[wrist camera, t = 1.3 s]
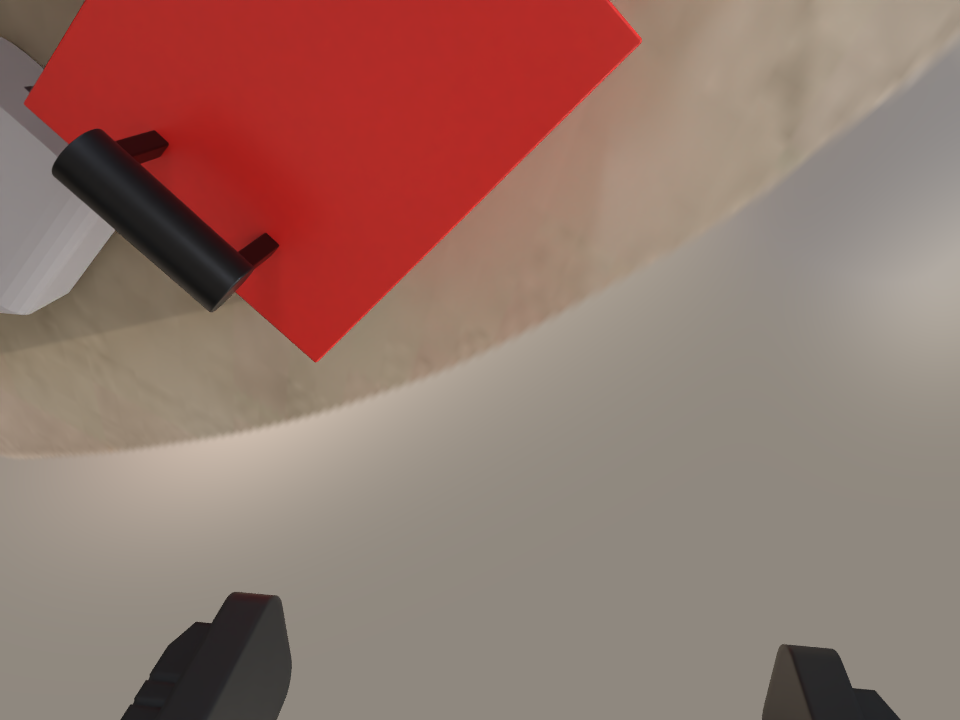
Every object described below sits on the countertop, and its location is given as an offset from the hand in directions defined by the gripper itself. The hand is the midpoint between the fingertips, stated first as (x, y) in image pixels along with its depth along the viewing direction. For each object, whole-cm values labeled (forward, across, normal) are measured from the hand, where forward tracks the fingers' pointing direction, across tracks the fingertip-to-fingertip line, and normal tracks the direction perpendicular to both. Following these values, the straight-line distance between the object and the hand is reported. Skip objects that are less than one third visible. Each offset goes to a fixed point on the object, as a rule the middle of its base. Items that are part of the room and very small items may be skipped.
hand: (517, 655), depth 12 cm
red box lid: (+17, +8, -7) cm, 20 cm away
